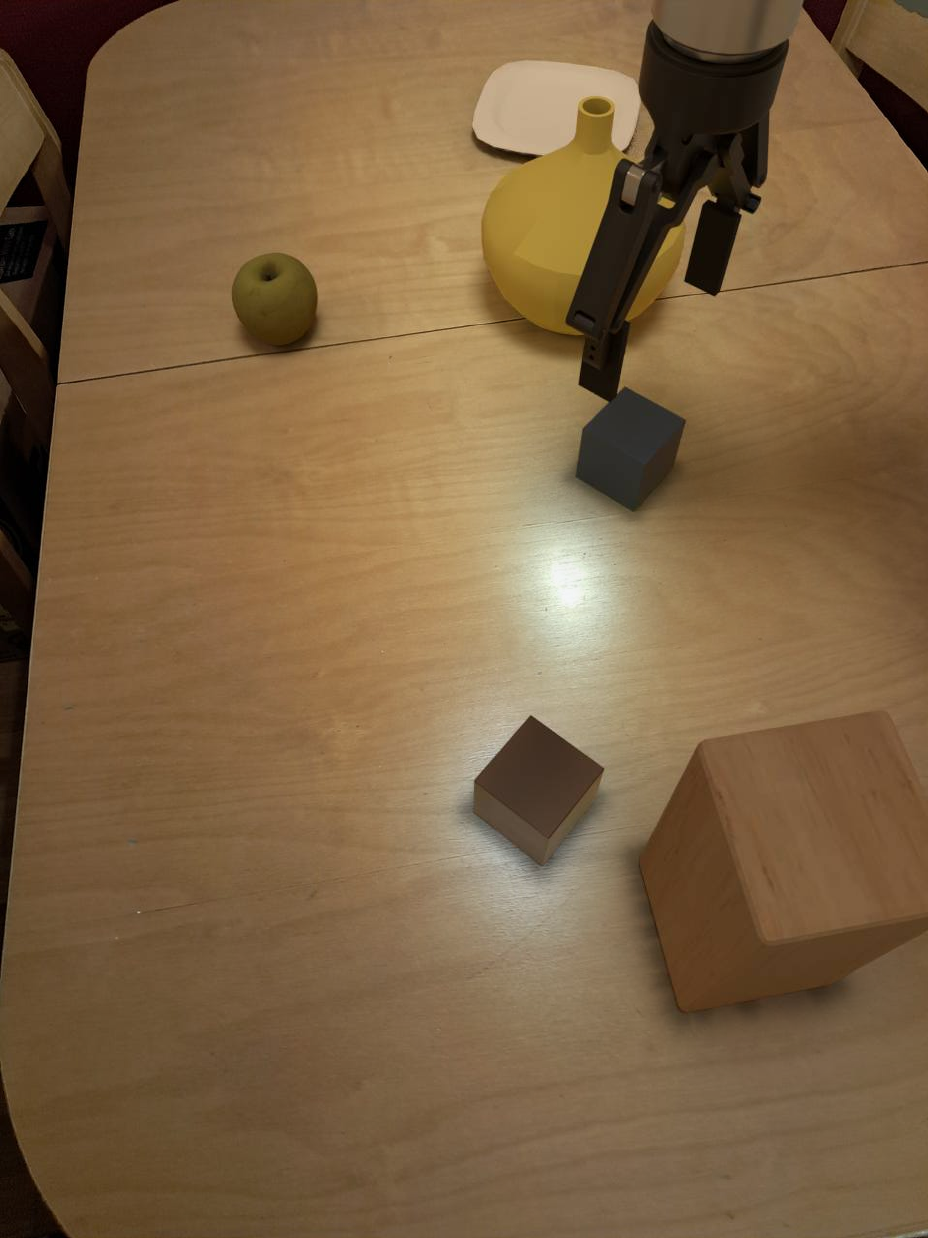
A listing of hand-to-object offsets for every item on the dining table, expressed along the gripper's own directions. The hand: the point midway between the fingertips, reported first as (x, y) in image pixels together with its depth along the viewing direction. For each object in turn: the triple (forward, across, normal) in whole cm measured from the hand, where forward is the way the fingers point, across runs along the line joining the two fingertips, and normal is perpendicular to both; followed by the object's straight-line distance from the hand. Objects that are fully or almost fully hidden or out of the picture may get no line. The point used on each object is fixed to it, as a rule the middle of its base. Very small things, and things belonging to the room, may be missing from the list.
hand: (651, 336), depth 68 cm
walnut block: (+15, +29, +12) cm, 34 cm away
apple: (+15, +6, -35) cm, 38 cm away
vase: (+15, -15, -16) cm, 26 cm away
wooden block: (+15, +27, +27) cm, 41 cm away
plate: (+15, -38, -35) cm, 54 cm away
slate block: (+15, 0, 0) cm, 15 cm away
